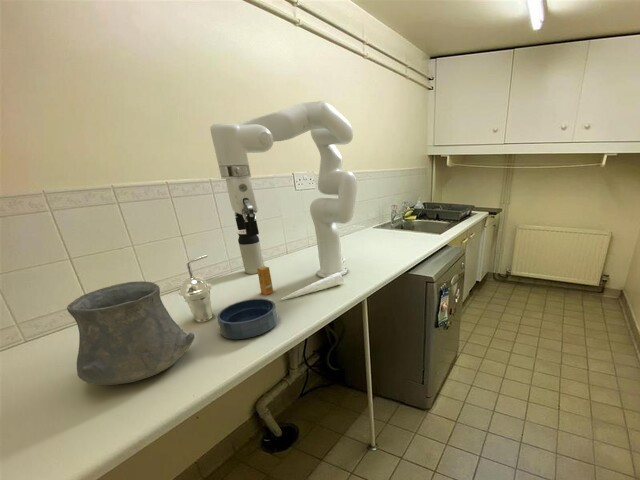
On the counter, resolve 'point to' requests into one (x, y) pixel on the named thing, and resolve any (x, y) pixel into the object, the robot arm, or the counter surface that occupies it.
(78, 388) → the counter surface
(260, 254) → the travel mug
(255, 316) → the bowl
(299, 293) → the unicorn horn
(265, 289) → the supplement box
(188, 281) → the cup with straw
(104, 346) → the vessel
